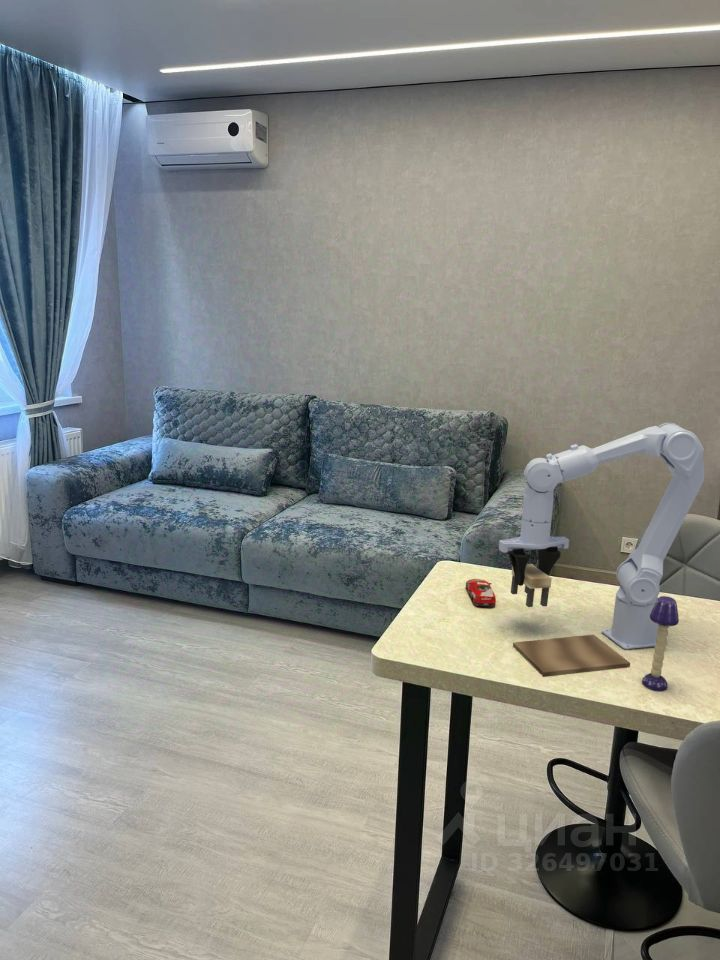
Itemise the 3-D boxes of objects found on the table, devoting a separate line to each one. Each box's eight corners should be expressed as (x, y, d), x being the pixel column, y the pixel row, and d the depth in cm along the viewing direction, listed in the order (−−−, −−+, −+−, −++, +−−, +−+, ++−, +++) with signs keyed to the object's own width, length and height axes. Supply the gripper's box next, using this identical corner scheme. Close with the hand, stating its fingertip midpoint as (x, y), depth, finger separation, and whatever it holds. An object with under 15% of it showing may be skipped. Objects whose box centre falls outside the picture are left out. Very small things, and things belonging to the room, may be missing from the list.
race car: (463, 587, 169) (465, 571, 168) (486, 587, 169) (487, 571, 168) (472, 609, 156) (473, 592, 155) (497, 610, 156) (498, 593, 155)
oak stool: (528, 591, 149) (532, 564, 147) (548, 606, 141) (551, 578, 140) (509, 592, 147) (512, 564, 146) (527, 607, 140) (531, 579, 138)
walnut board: (593, 638, 143) (593, 634, 143) (629, 666, 132) (630, 662, 132) (512, 646, 139) (513, 642, 138) (543, 676, 127) (543, 672, 127)
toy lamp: (673, 692, 123) (687, 604, 119) (647, 693, 123) (660, 604, 119) (660, 678, 128) (672, 593, 124) (635, 679, 128) (647, 593, 124)
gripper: (558, 511, 146) (552, 573, 149) (494, 514, 142) (489, 578, 145) (577, 521, 139) (570, 586, 142) (510, 525, 135) (504, 591, 139)
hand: (530, 583), depth 143 cm, fingers closed on oak stool, 4 cm apart
